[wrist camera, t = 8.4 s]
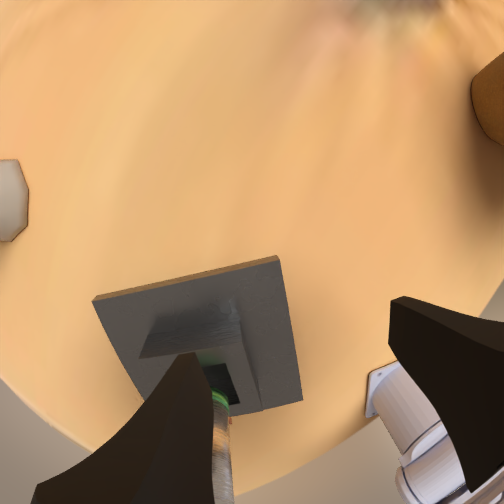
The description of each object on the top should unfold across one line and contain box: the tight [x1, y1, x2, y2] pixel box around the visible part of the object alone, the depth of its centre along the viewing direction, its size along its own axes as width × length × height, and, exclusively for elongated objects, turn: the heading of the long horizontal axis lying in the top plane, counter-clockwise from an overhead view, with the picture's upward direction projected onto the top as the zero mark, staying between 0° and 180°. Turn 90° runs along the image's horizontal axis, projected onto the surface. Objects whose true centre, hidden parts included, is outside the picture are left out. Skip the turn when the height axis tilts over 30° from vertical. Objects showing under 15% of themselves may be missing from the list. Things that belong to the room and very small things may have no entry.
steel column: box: [210, 386, 234, 504], centre depth 12 cm, size 3×3×8 cm
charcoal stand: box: [92, 255, 303, 424], centre depth 19 cm, size 14×14×4 cm
